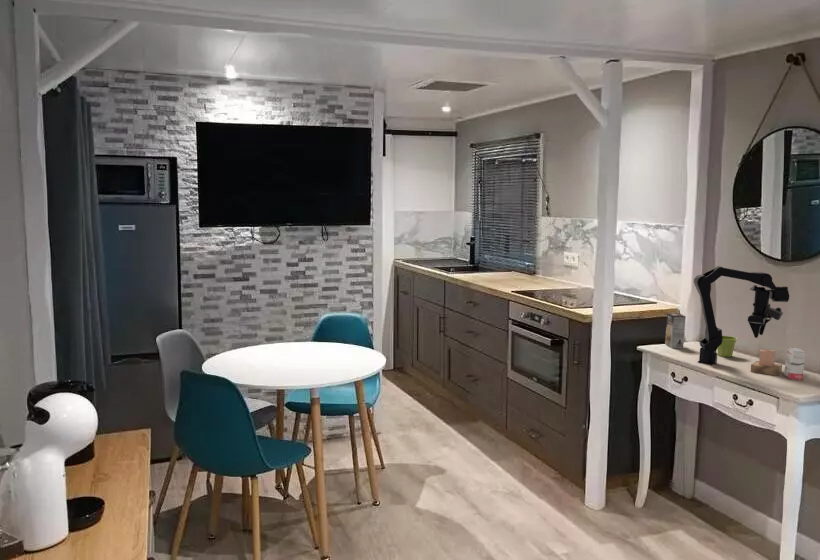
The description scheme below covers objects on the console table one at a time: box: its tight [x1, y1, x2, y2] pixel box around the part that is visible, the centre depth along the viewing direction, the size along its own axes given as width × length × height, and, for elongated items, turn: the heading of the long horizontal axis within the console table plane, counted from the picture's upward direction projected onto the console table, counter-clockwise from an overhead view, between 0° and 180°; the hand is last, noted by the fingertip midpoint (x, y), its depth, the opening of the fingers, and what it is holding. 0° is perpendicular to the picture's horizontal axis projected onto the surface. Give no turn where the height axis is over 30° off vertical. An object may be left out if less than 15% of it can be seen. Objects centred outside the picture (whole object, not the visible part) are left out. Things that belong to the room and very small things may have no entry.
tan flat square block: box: [750, 360, 783, 377], centre depth 301 cm, size 10×10×3 cm
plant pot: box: [716, 335, 738, 358], centre depth 331 cm, size 9×9×9 cm
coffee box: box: [664, 312, 686, 349], centre depth 349 cm, size 9×6×16 cm
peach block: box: [758, 348, 776, 367], centre depth 300 cm, size 5×5×6 cm
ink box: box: [783, 346, 807, 381], centre depth 291 cm, size 9×5×12 cm, turn 168°
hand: (758, 336), depth 311 cm, fingers open, 9 cm apart
